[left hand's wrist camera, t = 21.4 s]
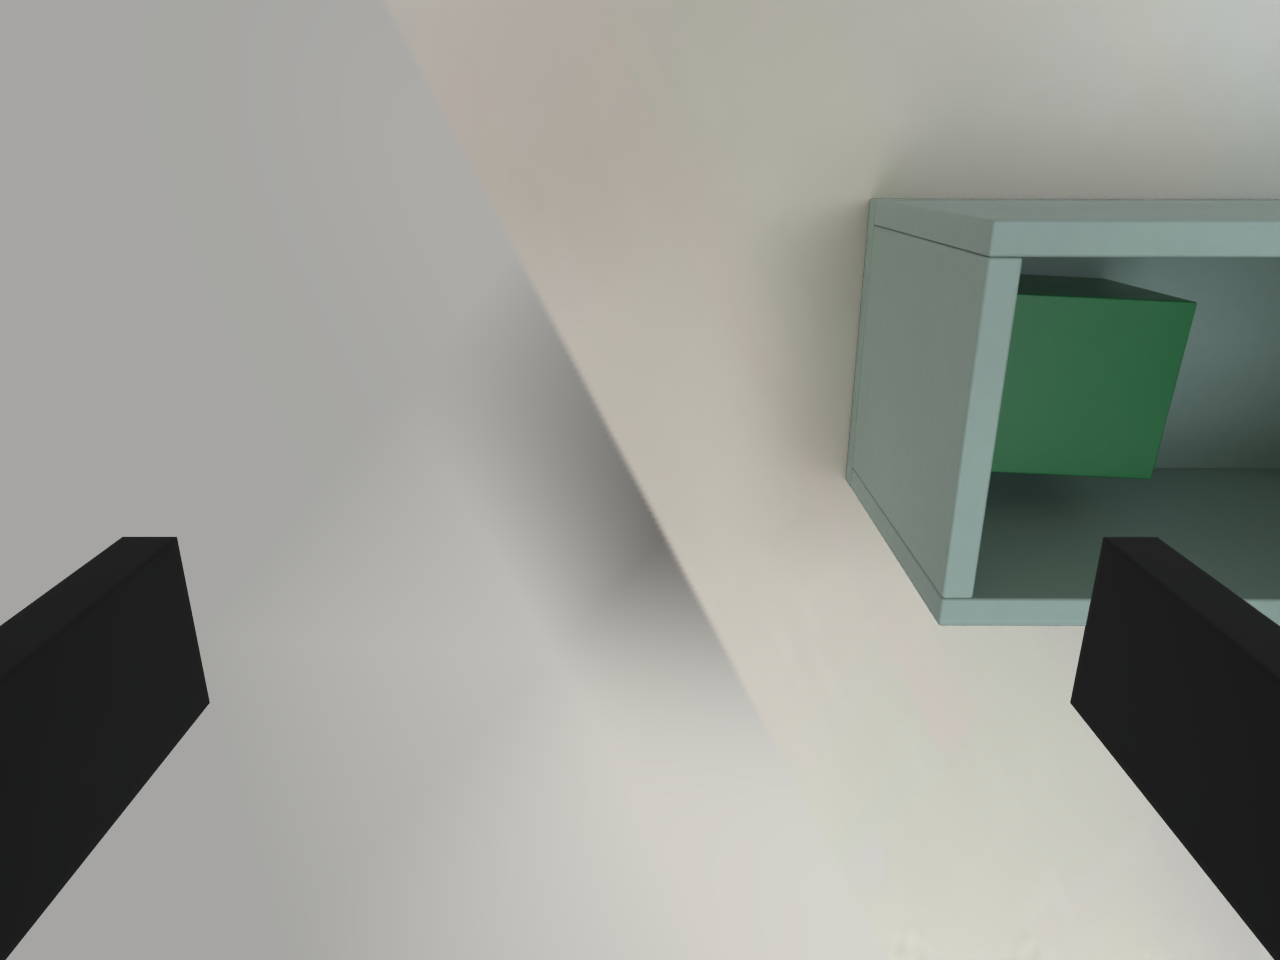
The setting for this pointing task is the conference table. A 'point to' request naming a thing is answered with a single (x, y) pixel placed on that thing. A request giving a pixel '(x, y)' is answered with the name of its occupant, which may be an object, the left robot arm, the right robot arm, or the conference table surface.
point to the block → (1089, 377)
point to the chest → (973, 386)
